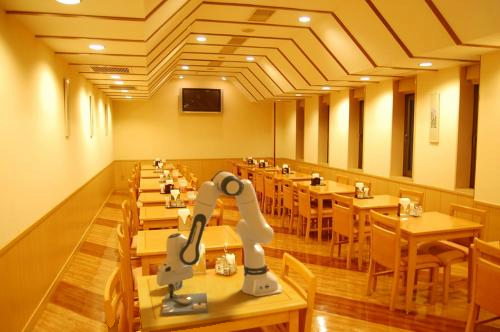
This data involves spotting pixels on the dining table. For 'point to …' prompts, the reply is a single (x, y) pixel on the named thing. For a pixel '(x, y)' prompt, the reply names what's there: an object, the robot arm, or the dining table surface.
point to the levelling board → (197, 305)
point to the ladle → (180, 297)
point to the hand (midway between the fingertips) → (175, 289)
